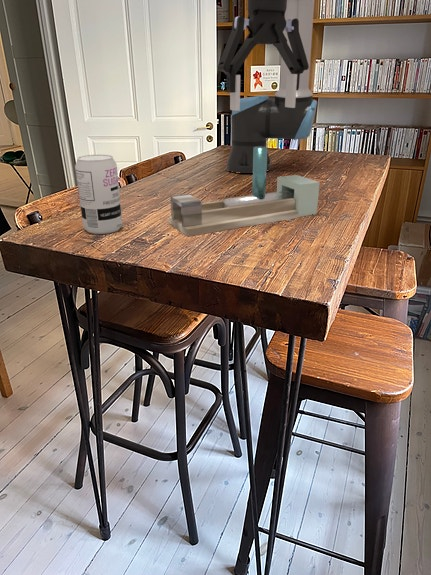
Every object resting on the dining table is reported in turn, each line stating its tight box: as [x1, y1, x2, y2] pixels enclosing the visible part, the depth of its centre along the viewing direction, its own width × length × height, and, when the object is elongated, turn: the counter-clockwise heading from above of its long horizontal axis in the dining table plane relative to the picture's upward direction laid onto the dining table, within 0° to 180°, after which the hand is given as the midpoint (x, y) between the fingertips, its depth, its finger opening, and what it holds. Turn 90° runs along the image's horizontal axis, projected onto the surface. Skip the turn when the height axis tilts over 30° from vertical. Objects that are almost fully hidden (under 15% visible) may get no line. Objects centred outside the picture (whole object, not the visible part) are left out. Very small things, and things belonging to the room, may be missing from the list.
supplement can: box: [74, 154, 124, 235], centre depth 93 cm, size 8×8×15 cm
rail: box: [168, 193, 299, 237], centre depth 100 cm, size 10×28×6 cm, turn 117°
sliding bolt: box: [222, 146, 294, 208], centre depth 101 cm, size 3×20×14 cm, turn 117°
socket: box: [276, 174, 320, 218], centre depth 107 cm, size 9×6×8 cm, turn 27°
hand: (263, 108), depth 94 cm, fingers open, 13 cm apart
